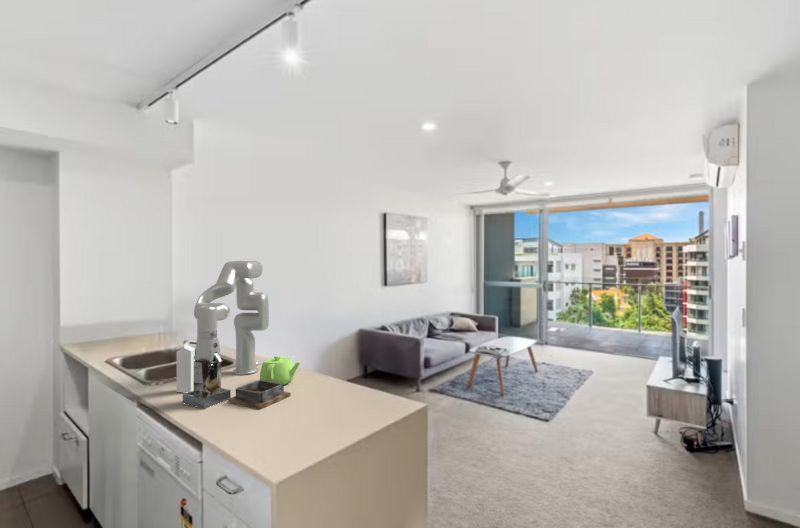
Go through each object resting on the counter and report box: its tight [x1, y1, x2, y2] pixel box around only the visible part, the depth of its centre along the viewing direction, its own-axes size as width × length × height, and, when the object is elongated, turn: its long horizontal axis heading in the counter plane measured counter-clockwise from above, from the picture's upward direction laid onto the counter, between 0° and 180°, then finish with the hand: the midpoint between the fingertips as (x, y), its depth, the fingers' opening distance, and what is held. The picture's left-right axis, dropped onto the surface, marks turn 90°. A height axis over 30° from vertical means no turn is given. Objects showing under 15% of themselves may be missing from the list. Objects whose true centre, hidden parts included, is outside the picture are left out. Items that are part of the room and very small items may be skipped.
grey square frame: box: [182, 387, 232, 410], centre depth 171 cm, size 13×13×4 cm
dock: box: [227, 379, 292, 410], centre depth 174 cm, size 18×18×6 cm
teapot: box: [259, 355, 301, 385], centre depth 197 cm, size 18×20×13 cm
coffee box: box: [193, 357, 222, 398], centre depth 172 cm, size 9×6×16 cm
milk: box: [176, 341, 196, 393], centre depth 184 cm, size 6×6×22 cm
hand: (207, 376), depth 172 cm, fingers closed on coffee box, 6 cm apart
